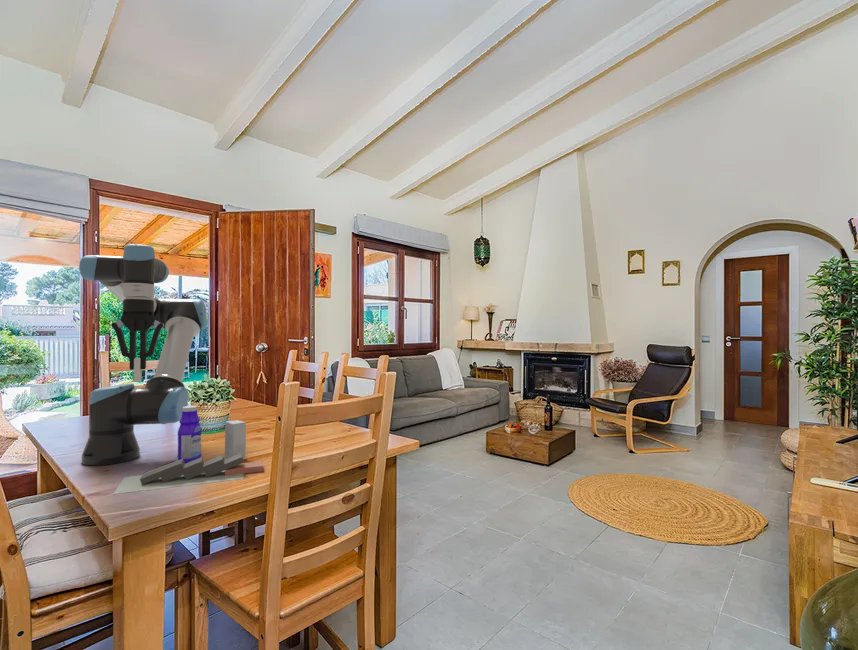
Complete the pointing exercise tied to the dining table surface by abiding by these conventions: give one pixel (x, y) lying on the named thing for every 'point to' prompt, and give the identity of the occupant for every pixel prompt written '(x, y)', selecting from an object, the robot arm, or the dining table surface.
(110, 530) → the dining table surface
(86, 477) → the dining table surface
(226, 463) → the domino
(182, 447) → the bottle
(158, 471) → the domino
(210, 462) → the domino
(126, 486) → the mat
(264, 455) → the dining table surface
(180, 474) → the domino
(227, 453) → the skincare box
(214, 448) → the dining table surface
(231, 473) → the end domino
